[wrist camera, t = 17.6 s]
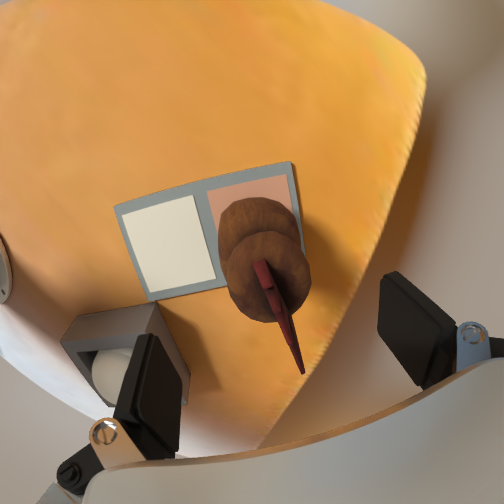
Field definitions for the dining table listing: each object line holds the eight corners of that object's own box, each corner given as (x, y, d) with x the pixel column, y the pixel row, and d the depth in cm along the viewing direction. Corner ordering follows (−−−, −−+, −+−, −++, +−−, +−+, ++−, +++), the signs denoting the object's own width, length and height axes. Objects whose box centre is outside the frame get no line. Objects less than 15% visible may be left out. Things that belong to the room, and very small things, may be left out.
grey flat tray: (150, 298, 26) (148, 302, 25) (115, 205, 22) (112, 206, 22) (305, 264, 26) (307, 267, 26) (289, 161, 22) (290, 161, 22)
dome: (120, 375, 29) (106, 418, 22) (93, 334, 26) (70, 376, 19) (168, 371, 29) (160, 418, 22) (143, 327, 26) (126, 374, 19)
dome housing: (117, 379, 30) (108, 407, 26) (77, 316, 26) (59, 341, 22) (190, 373, 31) (187, 404, 26) (156, 301, 26) (144, 331, 22)
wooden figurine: (284, 261, 25) (343, 387, 11) (222, 265, 25) (222, 403, 11) (285, 187, 23) (374, 257, 9) (217, 190, 22) (201, 269, 8)
